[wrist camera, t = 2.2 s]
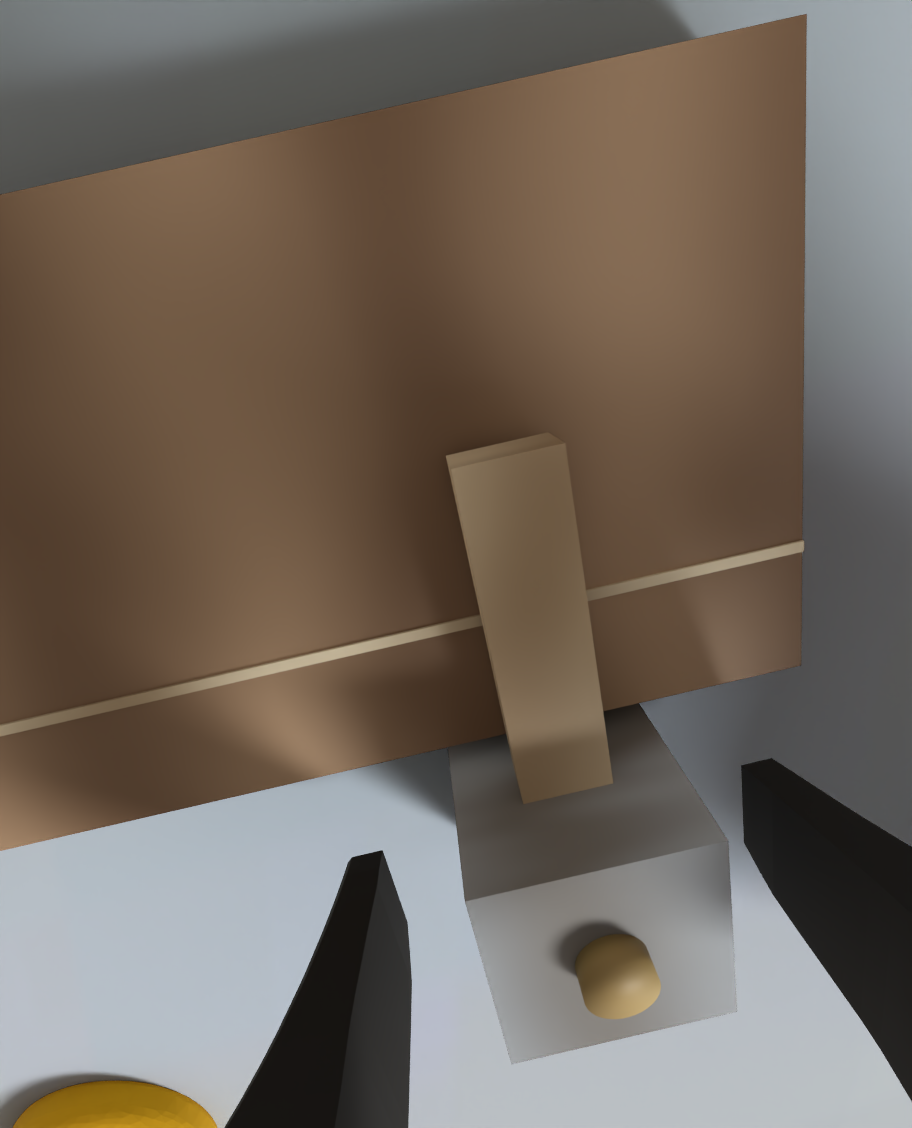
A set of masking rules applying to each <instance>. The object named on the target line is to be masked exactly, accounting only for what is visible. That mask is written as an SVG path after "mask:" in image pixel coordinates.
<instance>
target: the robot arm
mask: <svg viewBox="0 0 912 1128" xmlns="http://www.w3.org/2000/svg"><path fill="white" fill-rule="evenodd" d="M741 771H742V798H743V826H744V843H745V845H746V847H747V849H748V851H749V852H750V854H751V856H752V858H753V860H754V862H755V864H756V865H757V867H758V869H759V871H760V873H761V874H762V876H763V878H764V880H765V881H766V883H767V885H768V887H769V888H770V890H771V892H772V894H773V895H774V897H775V898H776V900H777V901H778V903H779V904H780V906H781V907H782V908H783V910H784V911H785V913H786V914H787V916H788V917H789V918H790V920H791V921H792V923H793V924H794V926H795V927H796V928H797V930H798V931H799V933H800V934H801V936H802V937H803V938H804V940H805V941H806V943H807V944H808V946H809V947H810V948H811V950H812V951H813V953H814V954H815V955H816V957H817V958H818V960H819V961H820V962H821V964H822V965H823V967H824V968H825V969H826V971H827V972H828V974H829V975H830V977H831V978H832V979H833V981H834V982H835V984H836V985H837V986H838V988H839V989H840V991H841V992H842V993H843V995H844V996H845V998H846V999H847V1001H848V1002H849V1003H850V1005H851V1006H852V1008H853V1009H854V1010H855V1012H856V1013H857V1015H858V1016H859V1017H860V1019H861V1020H862V1022H863V1023H864V1025H865V1026H866V1028H867V1029H868V1031H869V1032H870V1034H871V1036H872V1037H873V1039H874V1040H875V1042H876V1043H877V1045H878V1046H879V1048H880V1049H881V1051H882V1052H883V1054H884V1056H885V1057H886V1059H887V1061H888V1062H889V1064H890V1066H891V1067H892V1069H893V1071H894V1072H895V1074H896V1076H897V1077H898V1079H899V1081H900V1083H901V1084H902V1086H903V1088H904V1089H905V1091H906V1093H907V1094H908V1096H909V1098H910V1099H911V1101H912V847H911V846H909V845H908V844H906V843H904V842H902V841H901V840H899V839H897V838H896V837H894V836H893V835H891V834H889V833H888V832H886V831H884V830H883V829H881V828H880V827H878V826H876V825H875V824H873V823H871V822H870V821H868V820H866V819H865V818H863V817H862V816H860V815H858V814H857V813H855V812H854V811H852V810H851V809H849V808H847V807H846V806H844V805H843V804H841V803H840V802H838V801H837V800H835V799H833V798H832V797H830V796H829V795H827V794H826V793H824V792H823V791H821V790H820V789H818V788H816V787H815V786H813V785H812V784H810V783H809V782H807V781H806V780H804V779H803V778H801V777H800V776H798V775H797V774H795V773H794V772H792V771H790V770H789V769H787V768H786V767H784V766H783V765H781V764H780V763H778V762H777V761H775V760H773V759H772V758H771V759H766V760H762V761H758V762H754V763H749V764H745V765H741ZM411 994H412V979H411V963H410V949H409V937H408V924H407V920H406V917H405V914H404V911H403V908H402V905H401V903H400V900H399V897H398V894H397V891H396V888H395V885H394V882H393V879H392V876H391V874H390V871H389V868H388V865H387V862H386V859H385V856H384V853H383V850H381V851H377V852H373V853H369V854H364V855H360V856H356V857H352V858H351V860H350V861H349V862H348V864H347V867H346V870H345V873H344V876H343V879H342V882H341V885H340V888H339V891H338V893H337V896H336V899H335V901H334V904H333V907H332V909H331V912H330V914H329V917H328V920H327V922H326V925H325V927H324V930H323V932H322V935H321V937H320V939H319V942H318V944H317V946H316V949H315V951H314V954H313V956H312V958H311V961H310V963H309V965H308V968H307V970H306V972H305V975H304V977H303V979H302V981H301V984H300V986H299V988H298V990H297V992H296V994H295V996H294V998H293V1000H292V1002H291V1005H290V1007H289V1009H288V1011H287V1013H286V1015H285V1017H284V1019H283V1021H282V1023H281V1026H280V1028H279V1030H278V1032H277V1034H276V1036H275V1038H274V1040H273V1042H272V1043H271V1045H270V1047H269V1049H268V1051H267V1053H266V1055H265V1057H264V1059H263V1061H262V1063H261V1064H260V1066H259V1068H258V1070H257V1072H256V1074H255V1075H254V1077H253V1079H252V1081H251V1083H250V1084H249V1086H248V1088H247V1090H246V1092H245V1094H244V1095H243V1097H242V1099H241V1101H240V1102H239V1104H238V1106H237V1107H236V1109H235V1111H234V1112H233V1114H232V1116H231V1117H230V1119H229V1121H228V1122H227V1124H226V1126H225V1128H408V1114H409V1076H410V1038H411Z"/></svg>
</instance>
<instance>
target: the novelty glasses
mask: <svg viewBox="0 0 912 1128" xmlns="http://www.w3.org/2000/svg"><path fill="white" fill-rule="evenodd" d="M13 1128H217V1125H216V1123H215V1122H214V1120H213V1118H212V1117H211V1116H210V1114H209V1113H208V1112H207V1111H206V1110H205V1109H204V1108H203V1107H202V1106H200V1105H199V1104H198V1103H196V1102H195V1101H193V1100H192V1099H190V1098H189V1097H187V1096H184V1095H182V1094H180V1093H178V1092H176V1091H173V1090H170V1089H167V1088H164V1087H161V1086H157V1085H153V1084H148V1083H142V1082H134V1081H95V1082H89V1083H83V1084H78V1085H73V1086H70V1087H66V1088H63V1089H60V1090H57V1091H55V1092H53V1093H50V1094H48V1095H46V1096H44V1097H43V1098H41V1099H39V1100H38V1101H36V1102H34V1103H33V1104H32V1105H30V1106H29V1107H28V1108H27V1109H26V1110H25V1111H24V1112H23V1113H22V1114H21V1116H20V1117H19V1118H18V1120H17V1121H16V1122H15V1124H14V1126H13Z"/></svg>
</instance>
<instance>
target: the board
mask: <svg viewBox="0 0 912 1128" xmlns="http://www.w3.org/2000/svg"><path fill="white" fill-rule="evenodd" d="M806 25H807V14H804V15H800V16H795V17H791V18H786V19H782V20H777V21H773V22H769V23H764V24H760V25H755V26H751V27H746V28H742V29H737V30H733V31H728V32H724V33H719V34H715V35H711V36H706V37H702V38H697V39H693V40H688V41H684V42H679V43H675V44H670V45H666V46H661V47H657V48H652V49H648V50H644V51H639V52H635V53H630V54H626V55H621V56H617V57H612V58H608V59H603V60H599V61H594V62H590V63H586V64H581V65H577V66H572V67H568V68H563V69H559V70H554V71H550V72H545V73H541V74H536V75H532V76H527V77H523V78H519V79H514V80H510V81H505V82H501V83H496V84H492V85H487V86H483V87H478V88H474V89H469V90H465V91H461V92H456V93H452V94H447V95H443V96H438V97H434V98H429V99H425V100H420V101H416V102H411V103H407V104H402V105H398V106H394V107H389V108H385V109H380V110H376V111H371V112H367V113H362V114H358V115H353V116H349V117H344V118H340V119H336V120H331V121H327V122H322V123H318V124H313V125H309V126H304V127H300V128H295V129H291V130H286V131H282V132H278V133H273V134H269V135H264V136H260V137H255V138H251V139H246V140H242V141H237V142H233V143H228V144H224V145H219V146H215V147H211V148H206V149H202V150H197V151H193V152H188V153H184V154H179V155H175V156H170V157H166V158H161V159H157V160H153V161H148V162H144V163H139V164H135V165H130V166H126V167H121V168H117V169H112V170H108V171H103V172H99V173H94V174H90V175H86V176H81V177H77V178H72V179H68V180H63V181H59V182H54V183H50V184H45V185H41V186H36V187H32V188H28V189H23V190H19V191H14V192H10V193H5V194H1V195H0V851H2V850H6V849H10V848H15V847H19V846H23V845H28V844H32V843H36V842H41V841H45V840H49V839H54V838H58V837H62V836H67V835H71V834H75V833H80V832H84V831H88V830H93V829H97V828H101V827H105V826H110V825H114V824H118V823H123V822H127V821H131V820H136V819H140V818H144V817H149V816H153V815H157V814H162V813H166V812H170V811H175V810H179V809H183V808H188V807H192V806H196V805H201V804H205V803H209V802H213V801H218V800H222V799H226V798H231V797H235V796H239V795H244V794H248V793H252V792H257V791H261V790H265V789H270V788H274V787H278V786H283V785H287V784H291V783H296V782H300V781H304V780H309V779H313V778H317V777H321V776H326V775H330V774H334V773H339V772H343V771H347V770H352V769H356V768H360V767H365V766H369V765H373V764H378V763H382V762H386V761H391V760H395V759H399V758H404V757H408V756H412V755H417V754H421V753H425V752H430V751H434V750H438V749H442V748H447V747H451V746H455V745H460V744H464V743H468V742H473V741H477V740H481V739H486V738H490V737H494V736H499V735H503V734H506V730H505V725H504V721H503V716H502V712H501V707H500V702H499V698H498V693H497V689H496V684H495V680H494V675H493V670H492V666H491V661H490V657H489V652H488V647H487V643H486V638H485V634H484V629H483V624H482V620H481V615H480V611H479V606H478V602H477V597H476V592H475V588H474V583H473V579H472V574H471V569H470V565H469V560H468V556H467V551H466V546H465V542H464V537H463V533H462V528H461V523H460V519H459V514H458V510H457V505H456V501H455V496H454V491H453V487H452V482H451V478H450V473H449V468H448V464H447V459H446V455H451V454H455V453H459V452H464V451H468V450H473V449H477V448H481V447H486V446H490V445H495V444H499V443H503V442H508V441H512V440H517V439H521V438H525V437H530V436H534V435H538V434H543V433H547V432H549V433H550V434H552V435H553V436H555V437H557V438H558V439H560V440H561V441H563V442H564V443H565V445H566V452H567V459H568V467H569V474H570V481H571V488H572V495H573V502H574V509H575V516H576V523H577V530H578V537H579V544H580V551H581V558H582V565H583V572H584V580H585V587H586V594H587V601H588V608H589V615H590V622H591V629H592V636H593V643H594V650H595V657H596V664H597V671H598V678H599V686H600V693H601V700H602V707H603V711H607V710H611V709H615V708H620V707H624V706H628V705H633V704H637V703H641V702H646V701H650V700H654V699H658V698H663V697H667V696H671V695H676V694H680V693H684V692H689V691H693V690H697V689H702V688H706V687H710V686H715V685H719V684H723V683H728V682H732V681H736V680H741V679H745V678H749V677H754V676H758V675H762V674H766V673H771V672H775V671H779V670H784V669H788V668H792V667H797V666H801V633H802V552H804V541H803V540H802V511H803V390H804V268H805V147H806Z"/></svg>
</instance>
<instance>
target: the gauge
mask: <svg viewBox="0 0 912 1128" xmlns="http://www.w3.org/2000/svg"><path fill="white" fill-rule="evenodd" d="M446 459H447V464H448V468H449V473H450V478H451V482H452V487H453V491H454V496H455V501H456V505H457V510H458V514H459V519H460V523H461V528H462V533H463V537H464V542H465V546H466V551H467V556H468V560H469V565H470V569H471V574H472V579H473V583H474V588H475V592H476V597H477V602H478V606H479V611H480V615H481V620H482V624H483V629H484V634H485V638H486V643H487V647H488V652H489V657H490V661H491V666H492V670H493V675H494V680H495V684H496V689H497V693H498V698H499V702H500V707H501V712H502V716H503V721H504V725H505V730H506V734H503V735H499V736H494V737H490V738H486V739H481V740H477V741H473V742H468V743H464V744H460V745H455V746H451V747H448V755H449V764H450V773H451V782H452V791H453V800H454V808H455V817H456V826H457V835H458V844H459V853H460V862H461V870H462V879H463V888H464V897H465V903H466V907H467V910H468V914H469V917H470V921H471V924H472V928H473V931H474V935H475V938H476V942H477V945H478V949H479V952H480V956H481V959H482V963H483V966H484V970H485V973H486V977H487V980H488V984H489V987H490V991H491V994H492V998H493V1001H494V1005H495V1008H496V1012H497V1015H498V1019H499V1022H500V1026H501V1029H502V1033H503V1036H504V1040H505V1043H506V1047H507V1050H508V1054H509V1057H510V1061H511V1064H515V1063H519V1062H523V1061H528V1060H532V1059H536V1058H541V1057H545V1056H549V1055H553V1054H558V1053H562V1052H566V1051H571V1050H575V1049H579V1048H583V1047H588V1046H592V1045H596V1044H601V1043H605V1042H609V1041H613V1040H618V1039H622V1038H626V1037H631V1036H635V1035H639V1034H643V1033H648V1032H652V1031H656V1030H661V1029H665V1028H669V1027H673V1026H678V1025H682V1024H686V1023H691V1022H695V1021H699V1020H704V1019H708V1018H712V1017H716V1016H721V1015H725V1014H729V1013H734V1012H737V998H736V980H735V961H734V942H733V923H732V904H731V885H730V866H729V847H728V840H727V838H726V837H725V835H724V833H723V832H722V830H721V829H720V827H719V826H718V824H717V823H716V821H715V820H714V818H713V817H712V815H711V813H710V812H709V810H708V809H707V807H706V806H705V804H704V803H703V801H702V800H701V798H700V797H699V795H698V794H697V792H696V790H695V789H694V787H693V786H692V784H691V783H690V781H689V780H688V778H687V777H686V775H685V774H684V772H683V770H682V769H681V767H680V766H679V764H678V763H677V761H676V760H675V758H674V757H673V755H672V754H671V752H670V751H669V749H668V747H667V746H666V744H665V743H664V741H663V740H662V738H661V737H660V735H659V734H658V732H657V731H656V729H655V728H654V726H653V724H652V723H651V721H650V720H649V718H648V717H647V715H646V714H645V712H644V711H643V709H642V708H641V706H640V704H639V703H637V704H633V705H628V706H624V707H620V708H615V709H611V710H607V711H603V707H602V700H601V693H600V686H599V678H598V671H597V664H596V657H595V650H594V643H593V636H592V629H591V622H590V615H589V608H588V601H587V594H586V587H585V580H584V572H583V565H582V558H581V551H580V544H579V537H578V530H577V523H576V516H575V509H574V502H573V495H572V488H571V481H570V474H569V467H568V459H567V452H566V445H565V443H564V442H563V441H561V440H560V439H558V438H557V437H555V436H553V435H552V434H550V433H549V432H547V433H543V434H538V435H534V436H530V437H525V438H521V439H517V440H512V441H508V442H503V443H499V444H495V445H490V446H486V447H481V448H477V449H473V450H468V451H464V452H459V453H455V454H451V455H446Z"/></svg>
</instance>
